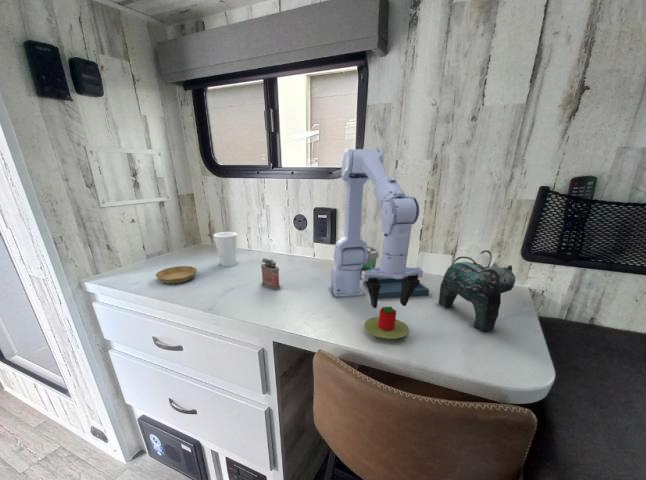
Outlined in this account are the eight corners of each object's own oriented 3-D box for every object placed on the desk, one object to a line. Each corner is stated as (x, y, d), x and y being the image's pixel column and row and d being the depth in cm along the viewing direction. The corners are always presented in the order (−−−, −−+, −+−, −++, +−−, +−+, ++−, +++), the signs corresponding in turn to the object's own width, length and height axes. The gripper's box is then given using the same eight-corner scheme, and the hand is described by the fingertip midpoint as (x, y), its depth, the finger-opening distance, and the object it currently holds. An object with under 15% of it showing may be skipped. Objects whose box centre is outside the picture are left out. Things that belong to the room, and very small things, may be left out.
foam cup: (222, 260, 138) (219, 231, 133) (242, 261, 137) (239, 231, 132) (214, 267, 130) (209, 236, 124) (235, 267, 129) (231, 237, 123)
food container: (376, 281, 113) (379, 255, 109) (360, 280, 114) (361, 254, 110) (376, 270, 124) (378, 246, 119) (361, 269, 125) (362, 245, 121)
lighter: (282, 288, 108) (280, 260, 104) (275, 290, 106) (273, 263, 102) (267, 282, 113) (265, 256, 109) (260, 285, 111) (258, 258, 107)
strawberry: (381, 331, 77) (383, 313, 75) (376, 323, 80) (377, 306, 78) (396, 329, 77) (399, 311, 75) (390, 322, 81) (392, 304, 79)
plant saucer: (165, 289, 108) (163, 282, 107) (151, 278, 118) (150, 271, 117) (204, 278, 117) (203, 272, 116) (188, 269, 127) (187, 263, 126)
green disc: (380, 349, 73) (381, 342, 72) (355, 327, 82) (355, 321, 82) (417, 338, 77) (418, 332, 76) (389, 319, 86) (390, 313, 86)
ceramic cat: (502, 333, 79) (524, 258, 71) (481, 337, 78) (502, 261, 69) (448, 301, 97) (461, 239, 88) (431, 304, 95) (442, 240, 86)
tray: (376, 299, 99) (377, 293, 98) (363, 284, 111) (363, 278, 110) (428, 295, 101) (429, 289, 100) (409, 281, 113) (410, 275, 112)
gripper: (370, 259, 66) (365, 314, 72) (433, 255, 68) (423, 310, 74) (360, 250, 73) (356, 302, 78) (418, 247, 74) (410, 298, 80)
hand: (388, 305), depth 77 cm, fingers open, 7 cm apart
